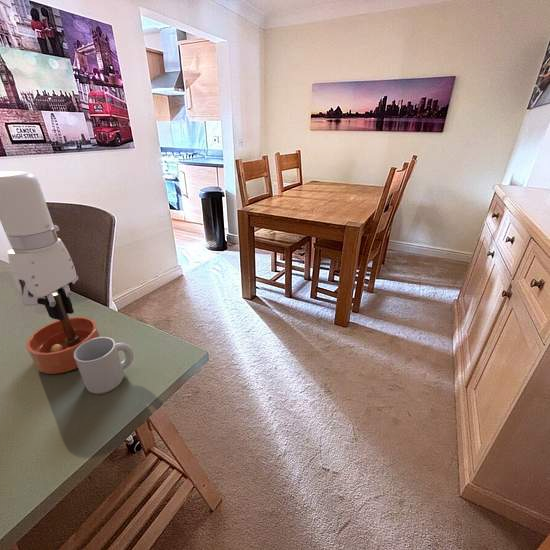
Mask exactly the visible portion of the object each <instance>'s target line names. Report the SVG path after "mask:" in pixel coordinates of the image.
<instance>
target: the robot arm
mask: <svg viewBox="0 0 550 550" xmlns="http://www.w3.org/2000/svg"><path fill="white" fill-rule="evenodd" d="M0 223H1V226H2V228H3V231H4V233H5V235H6V237H7V241H8V242H9V245H10V247H11V249H10V250H7V256H8V264H9V268H10V272H11V275H12V280H13V282H14V285H15V287H16V290H17V292H18V294H19V295H21V296H22V297H23V298H22V304H23V305H24V306H28V307H31V306H38V305H42V306H44V307H45V310H46V312H47V314H48V317H49V318H51V319H52V320H56V321H58V320H63V319H64V315H63V313H62V310H61V307H60V305H59V304H56V302H55V299H54V297H53V294H52V293H55V292H59V293H60V295H61V297H62V300H63V303H64V306H65V308H66V311H67V314H68V315H72V314H74V313H75V311H74V308H73V303H72V300H71V297H72V289H73V287H74V285H75V284H76V283H77V281H78V280H79V275H78V274H77V272H76V267H75V265H74V262H73V260H72V257H71V255H70V253H69V251H68V249H67V247H66V245H65V243H64V242H63V241H62V239H61V238H59V237H58V234H57V232H59V231H60V227H59V226H58V225H57V224H54V223H53V220H52V217H51V214H50V211H49V208H48V205H47V202H46V198H45V196H44V192H43V190H42V187H41V183H40V181H39V179H38V177H37V176H36V175H35V174H33V173H31V172H28V171H17V170H16V171H3V170H0Z"/></svg>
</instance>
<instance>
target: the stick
mask: <svg viewBox="0 0 550 550" xmlns="http://www.w3.org/2000/svg"><path fill="white" fill-rule="evenodd" d="M52 294H53V297H54V299H55V302H56V304H59V305H60V307H61V310H62V313H63V315H64V319H63V320H60V323H61V325H62V328H63V331H64V333H65V336H66V338H65V343H66V345H67V346H69V347H71V346H74V345H77V344H78V343H79V342H80V339H79V336H78V335H77V334H75V333H74V330H73V327H72V325H71V322H70V319H69V318H70V317H69V314H68V313H67V311H66V308H65V306H64V303H63V300H62V297H61V295H60V293H59V292H56V291H54V292H52Z"/></svg>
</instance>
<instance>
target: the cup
mask: <svg viewBox="0 0 550 550" xmlns="http://www.w3.org/2000/svg"><path fill="white" fill-rule="evenodd" d="M120 351H122V352H123V353H124V360H123V361H121V359H120V355H119V352H120ZM74 358H75V361H76V363H77V366H78V368H77V369H78V371H79V373H80V376H81V379H82V381H83V384H84V386H85V388H86V390H87V391H88V392H89V393H91V394H96V395H101V394H106V393H109V392H111V391H113V390H115V389H116V388H117V387H118V386H119V385H121V383H122V381H123V380H124V376H125V373H124V370H125V369H127V368H129V367H130V366H131V364H132V363H133V361H134V351H133V348H132V347H131V346H130V345H129V344H128V343H126V342H117V343H116V342H115V340H114V339H113V338H111V337H108V336H100V337H98V338H94V339H91V340H88V341H86V342H84V343H83V344H81V345H80V346H79V347H78V348H77V349H76V350H75V352H74Z"/></svg>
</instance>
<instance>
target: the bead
mask: <svg viewBox="0 0 550 550" xmlns="http://www.w3.org/2000/svg"><path fill="white" fill-rule="evenodd" d="M62 349H63V347H62V345H60V344H55V345H53V346H52V348H51V351H52V352H58V351H61V350H62Z"/></svg>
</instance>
